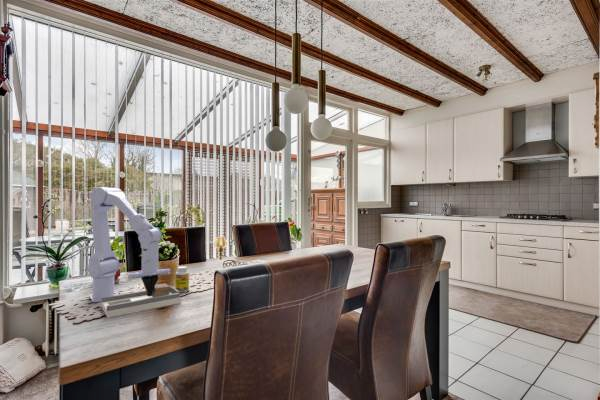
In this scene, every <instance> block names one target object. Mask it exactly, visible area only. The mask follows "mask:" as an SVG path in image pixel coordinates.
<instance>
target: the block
mask: <svg viewBox="0 0 600 400" xmlns="http://www.w3.org/2000/svg"><path fill="white" fill-rule="evenodd" d="M169 286H170V285H168V283H165V282H163V283H159V284H156V285H155V287H154V290H153V293H152V296H153V297H158V296H163V295H169Z"/></svg>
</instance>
